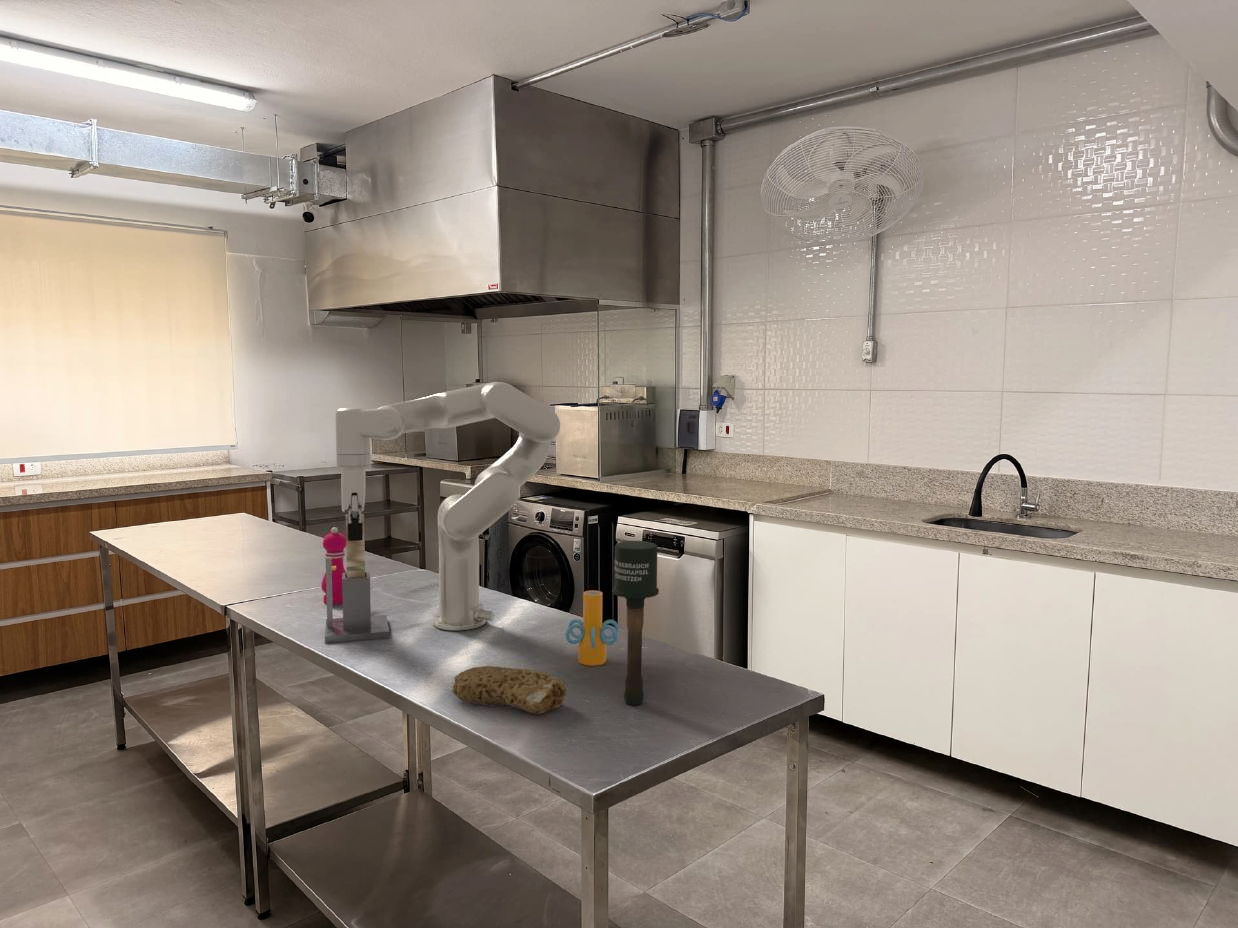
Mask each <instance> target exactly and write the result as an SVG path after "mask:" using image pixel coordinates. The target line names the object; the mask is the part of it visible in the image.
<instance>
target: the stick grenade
mask: <svg viewBox="0 0 1238 928" xmlns="http://www.w3.org/2000/svg"><path fill="white" fill-rule="evenodd" d="M613 579H614V582H613V587H612V589H611V592H612V594H613V595H615V596H616V597H621V598H624V599H625V600H626V601H625V602H626V627H627V646H626V647H627V653H626V657H627V658H626V660H627V662H626V663H627V667H626V676H625V680H624V682H625V683H624V684H625V685H624V692H623V693H624V694H623V699H624V702H625V703H626V704H627V703H628V704H627V705H629V704H630V705H631V706H638V704H639V705H641V704H642V703H643V701H644V696H645V695H644V680H643V679H644V678H643V675H642V660H643V659H642V656H643V654H642V653H643V652H642V651H643V649H642V648H643V628H644V623H645V622H644V616H645V612H644V611H645V600H646V599H650V598H653V597H656V596H657V595H659V592H660V591H659V590H660V589H659V588H658V586H657V585H658V545H657V544H656V543H654V542H650V541H646V540H645V541H644V540H625V541H620V542H617V543H616V544H615V546H614V578H613ZM640 703H641V704H640Z"/></svg>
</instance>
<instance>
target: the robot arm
mask: <svg viewBox="0 0 1238 928" xmlns="http://www.w3.org/2000/svg"><path fill="white" fill-rule="evenodd" d="M492 419H497V420H499V421H500V422H502V423H503V424H505V425H506V426H508V427H510V428H512V429H513V430H515V431H516V432H518V438H517V440H516V442H515V443H514V445H513V446H512V447H511V448H510V449H509V450H508V451H507V452H506V453H504V454H503V455H502V456H501V457H500V458H498V459H497V460H496V461H495V462H493V463H492V464H491V465H489V466H488V467H487V468H485V469H484V470H483V471H482V472H480V473H479V474H478V475H477V477H476V478H475V481H474V486H473V487H472V488H471V489H470V490H468V491H467V492H466V493H465V494H459V493H457V494H453V495H452V494H451V495H450V496H447V497H446V498H445V499H444V500H443V501H442V502H441V503H440V505H439V508H438V509H437V511H438V512H437V531H438V532H437V533H438V555H439V556H438V584H439V585H438V587H439V591H438V593H439V594H438V595H439V604H438V605H439V614H438V615H437V616H435V617H434V618H433V621H432V624H433V626H434V627H435V628H437V629H441V630H445V631H469V630H474V629H477V628H480V627H482V626H483V625H485V624H486V622H487V621H490V622H493V621H494V618H495V617H494V616H495V614H494V610H491V609H490V610H487V609H484V604H483V603H480V543H479V542H480V540H479V539H480V538H479V536H480V535H481V534H483V533H484V532H485V531H486V530H487V529H489V528H490V527H491V526H492V525H493V524H494V523H496V522H497V521H499V519H500V518H501V517H503V516H504V515H505V514H506V513H508V512H509V511H510V510H511V509H512V508H513V507H514V506H515V505H516V503H517V501H518V500H519V496H520V488H521V486H523V485H524V484H526V483H527V482H528V481H529V480H530V479H531V478H532V477H533V476H534V475H535V474H537V472H538V471H539V470H540V469H541V468H542V467H543V465H544V464H545V463H546V461H547V458H548V456H549V454H550V451H551V444H552V441H554V439H555V438H557V436H558V435H559V433H560V429H561V421H560V418H559V416H558V414H557V413H556V412H555V411H554V410H553V409H551V408H549V407H548V406H547V405H545V404H543V403H541V402H539V401H538V400H536V399H535V398H532V397H531V396H529V395H528V394H527V393H524V392H522V391H521V390H519V389H518V388H516V387H515V386H514V385H512V384H509V383H507V382H503V381H493V382H492V381H491V382H487V383H483V384H482V383H481V384H478V385H472V386H468V387H464V388H458V389H453V390H448V391H444V392H439V393H435V394H432V395H429V396H426V397H425V396H424V397H421V398H416V399H412V400H406V401H401V402H396V403H392V404H386V405H382V406H380V407H378V408H372V409H371V408H370V409H368V408H365V407H364V408H363V407H341V408H338V409H337V410H336V412H335V444H336V445H335V447H336V448H335V451H336V452H335V453H336V469H339V470H340V469H341V474H340V475H341V476H340V486H341V487H340V488H341V489H340V490H341V491H340V492H341V493H340V494H341V511H342V512H343V513H345V512H346V511H347V513H348V514H349V523H348V540H349V541H361V540H363V528H362V523H361V514H362V512H363V511H364V510H365V503H366V482H367V481H366V469H370V468H371V467H372V465H371V464H372V463H371V461H372V460H371V457H372V456H371V439H374V440H375V439H376V440H385V441H387V440H388V441H391V440H395V439H396V438H399V437H400V436H401V435H403V434H407V433H412V432H415V431H421V430H427V429H449V428H454V427H459V426H464V425H467V424H468V425H469V424H472V423H477V422H482V421H486V420H487V421H488V420H492Z"/></svg>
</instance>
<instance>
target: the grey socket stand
mask: <svg viewBox="0 0 1238 928" xmlns="http://www.w3.org/2000/svg"><path fill="white" fill-rule="evenodd" d="M332 570H336V566H331V557H325V572H326V593H325V594H326V595H327V604H326V619H325V629H324V630H325V631H324V644H329V643H342V642H356V641H367V640H380V639H390V628H389V621H388V615H387V614H378V615H371V611H372V610H371V609H372V608H371V607H372V606H371V573H370V571H365V577H358V578H347V572H346V573H342V592H343V603H342V617H338V618H333V611H334V610H333V604H332Z"/></svg>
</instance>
